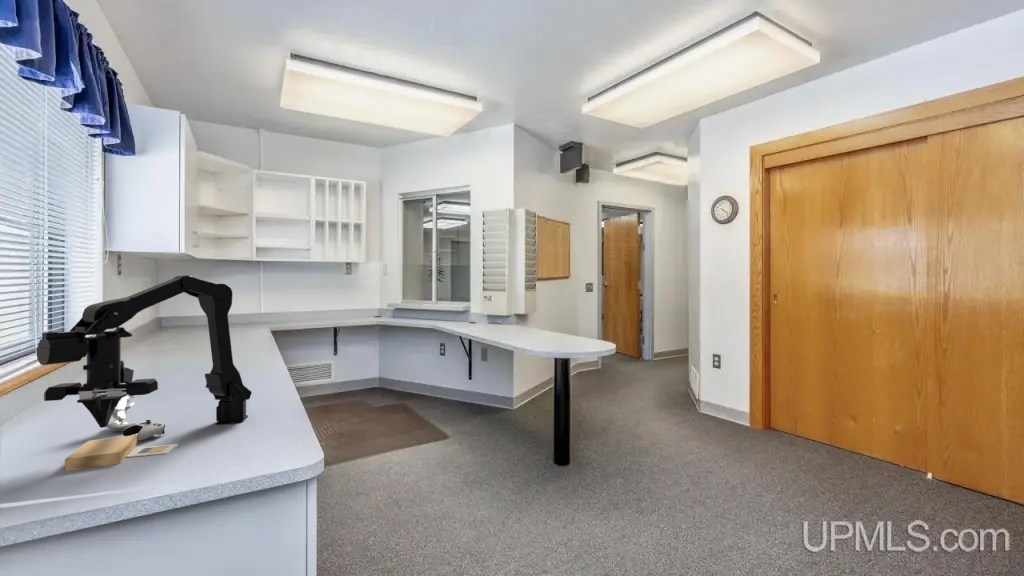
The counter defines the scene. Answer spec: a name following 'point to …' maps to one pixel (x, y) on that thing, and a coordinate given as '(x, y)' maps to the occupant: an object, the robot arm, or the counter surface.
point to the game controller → (144, 430)
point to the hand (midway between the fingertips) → (103, 427)
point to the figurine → (121, 415)
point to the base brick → (101, 453)
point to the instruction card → (152, 450)
